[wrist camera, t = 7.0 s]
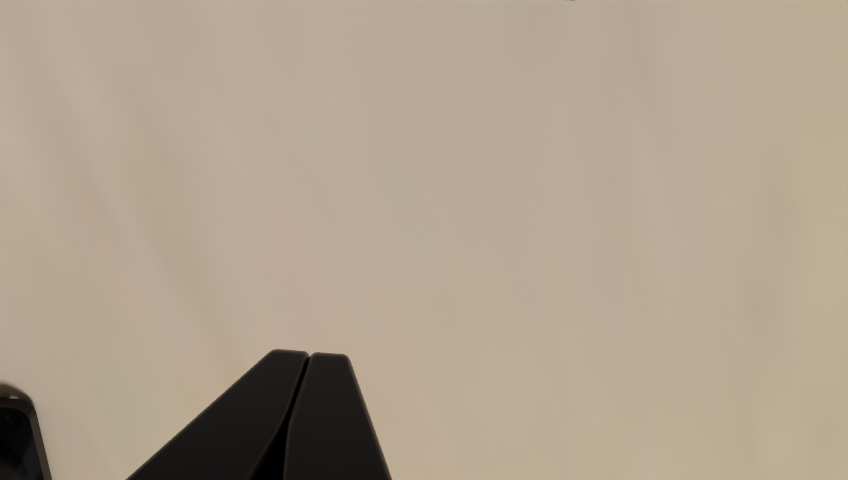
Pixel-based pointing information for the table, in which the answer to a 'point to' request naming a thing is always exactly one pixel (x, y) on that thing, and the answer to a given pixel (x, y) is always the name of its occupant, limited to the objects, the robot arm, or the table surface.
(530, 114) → the table surface
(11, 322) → the table surface
